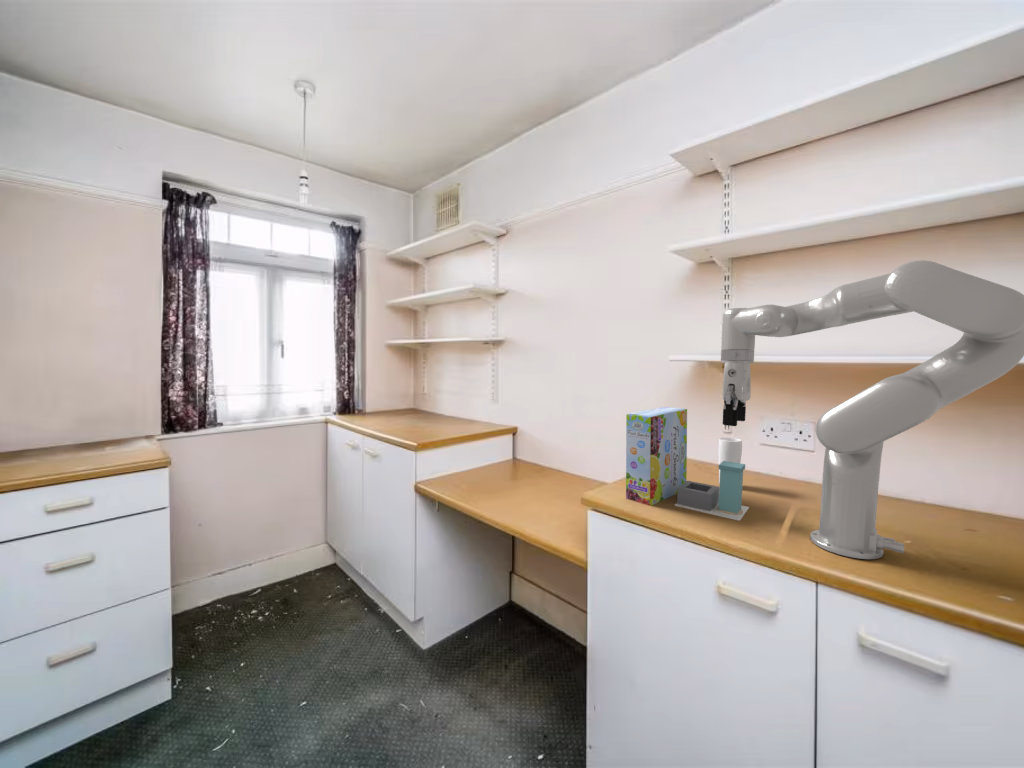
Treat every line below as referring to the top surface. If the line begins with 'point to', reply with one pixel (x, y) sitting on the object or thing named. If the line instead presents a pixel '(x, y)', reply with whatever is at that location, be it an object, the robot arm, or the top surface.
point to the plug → (730, 486)
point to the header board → (704, 500)
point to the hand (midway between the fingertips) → (734, 423)
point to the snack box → (655, 454)
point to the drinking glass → (729, 450)
